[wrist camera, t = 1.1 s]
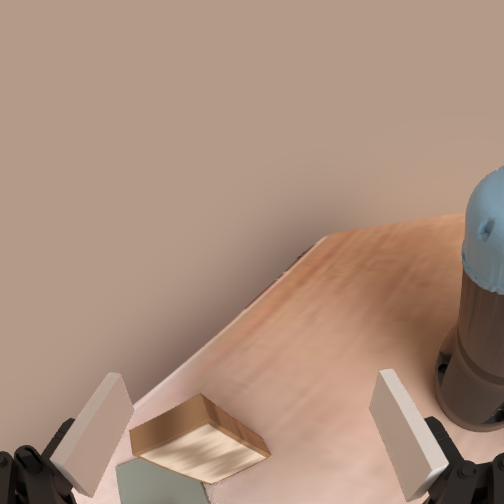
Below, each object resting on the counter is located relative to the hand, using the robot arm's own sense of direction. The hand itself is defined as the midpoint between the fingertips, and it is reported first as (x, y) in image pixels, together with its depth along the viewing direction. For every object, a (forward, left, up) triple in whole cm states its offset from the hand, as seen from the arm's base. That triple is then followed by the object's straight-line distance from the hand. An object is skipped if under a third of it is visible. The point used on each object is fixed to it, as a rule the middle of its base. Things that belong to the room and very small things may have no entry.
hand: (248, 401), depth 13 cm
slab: (+10, -7, -21) cm, 24 cm away
